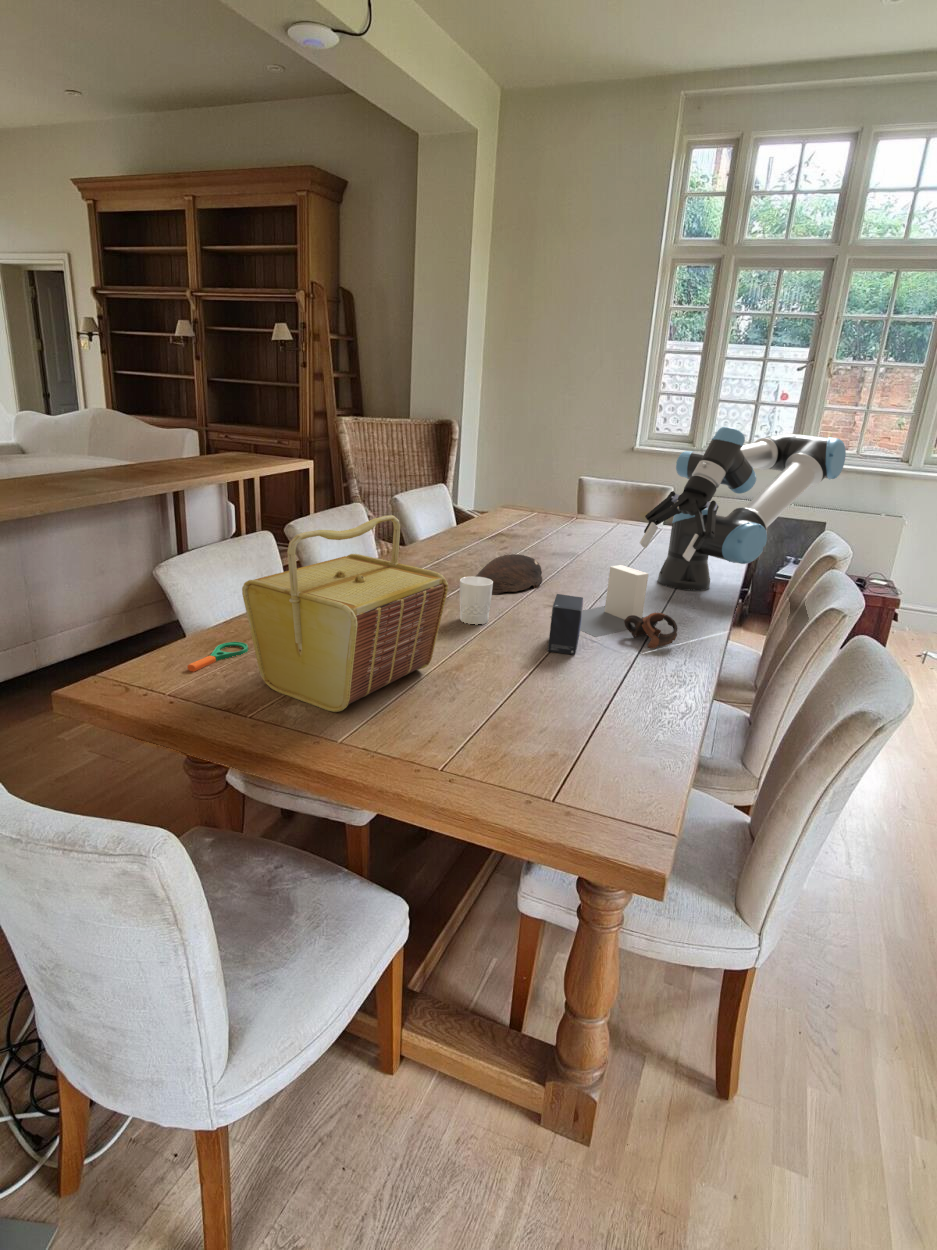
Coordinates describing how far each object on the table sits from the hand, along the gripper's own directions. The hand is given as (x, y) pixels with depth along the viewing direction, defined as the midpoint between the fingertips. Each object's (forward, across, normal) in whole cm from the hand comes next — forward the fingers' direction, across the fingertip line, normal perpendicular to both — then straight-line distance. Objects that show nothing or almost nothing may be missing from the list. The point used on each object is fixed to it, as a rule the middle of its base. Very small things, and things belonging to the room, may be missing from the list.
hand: (663, 552), depth 183 cm
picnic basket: (+65, -1, -66) cm, 92 cm away
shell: (+24, -40, -4) cm, 46 cm away
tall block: (+20, 0, -2) cm, 20 cm away
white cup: (+41, -16, -30) cm, 54 cm away
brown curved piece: (+26, +16, -10) cm, 31 cm away
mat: (+24, 0, -8) cm, 25 cm away
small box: (+37, +7, -25) cm, 45 cm away
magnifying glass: (+76, -23, -79) cm, 112 cm away
